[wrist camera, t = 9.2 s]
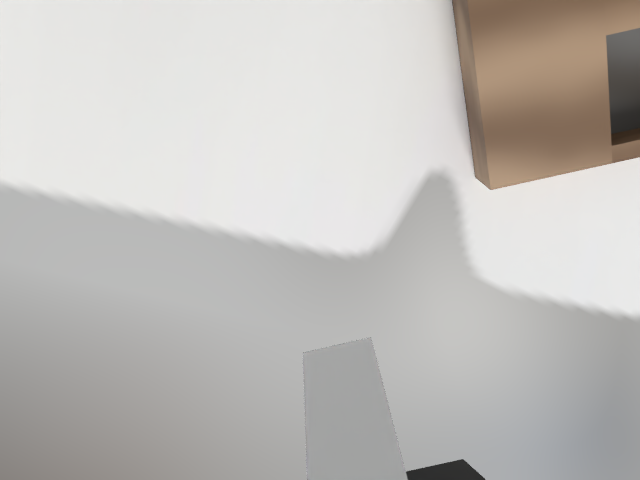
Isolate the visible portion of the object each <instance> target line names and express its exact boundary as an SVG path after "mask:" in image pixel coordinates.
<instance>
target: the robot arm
mask: <svg viewBox="0 0 640 480" xmlns="http://www.w3.org/2000/svg"><path fill="white" fill-rule="evenodd" d="M303 374H304V401H305V402H304V403H305V432H306V463H307V480H485V478H483V477H482V476H481V475H480V474H479V473H478V472H476V470H474V469H473V468H472V467H471V466H470V465H469V464H468V463H467V462H465V461H464V460H463V459H462V460H457V461H453V462H448V463H444V464H439V465H435V466H430V467H425V468H421V469H416V470H411V471H407V472H406V471H405V468H404V463H403V459H402V455H401V452H400V448H399V444H398V440H397V436H396V432H395V428H394V425H393V420H392V417H391V413H390V409H389V405H388V401H387V398H386V393H385V389H384V386H383V382H382V378H381V374H380V370H379V366H378V362H377V358H376V355H375V351H374V347H373V343H372V339H371V337H370V338H365V339H361V340H356V341H352V342H348V343H343V344H339V345H334V346H330V347H326V348H321V349H317V350H312V351H308V352H303Z"/></svg>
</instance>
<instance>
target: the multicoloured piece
mask: <svg viewBox="0 0 640 480" xmlns="http://www.w3.org/2000/svg"><path fill="white" fill-rule="evenodd" d="M452 3H453V10H454V18H455V25H456V33H457V41H458V48H459V56H460V63H461V71H462V79H463V86H464V94H465V101H466V109H467V117H468V124H469V132H470V139H471V147H472V155H473V162H474V170H475V177H476V178H477V179H478V180H479V181H480V182H482V183H483V184H484V185H485V186H486V187H488V188H489V189H490V190H493V189H498V188H502V187H507V186H511V185H516V184H520V183H525V182H529V181H534V180H538V179H543V178H547V177H552V176H556V175H561V174H565V173H570V172H575V171H579V170H584V169H588V168H593V167H597V166H602V165H606V164H611V163H615V162H620V161H624V160H629V159H633V158H638V157H640V0H452Z"/></svg>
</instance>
